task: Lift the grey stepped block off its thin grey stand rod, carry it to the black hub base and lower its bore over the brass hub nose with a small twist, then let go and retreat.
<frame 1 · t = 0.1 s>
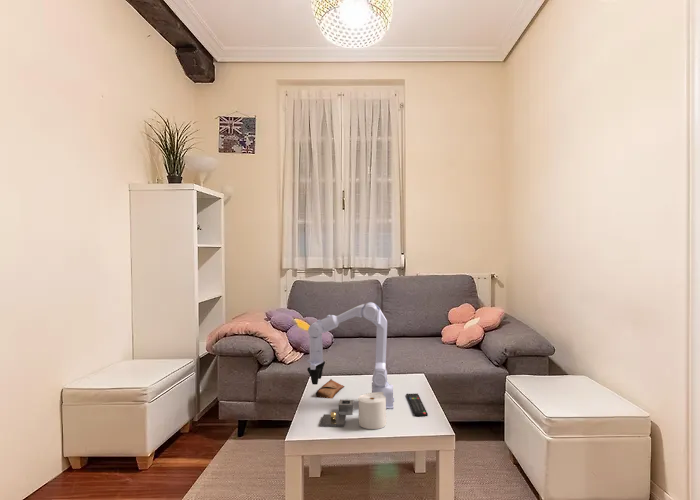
hand: (316, 381, 184), 10 cm above the table, fingers open, 7 cm apart
stand rod: (346, 411, 175), on the table
toilet tissue: (372, 423, 164), on the table
remote control: (416, 407, 181), on the table
grey stepped block: (346, 411, 175), on the table
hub: (333, 421, 166), on the table
sunglasses case: (330, 393, 200), on the table
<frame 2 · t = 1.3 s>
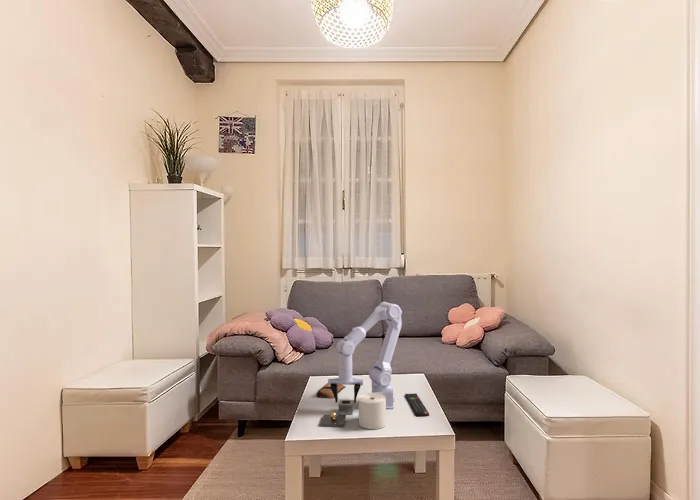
hand: (345, 401, 175), 4 cm above the table, fingers open, 7 cm apart
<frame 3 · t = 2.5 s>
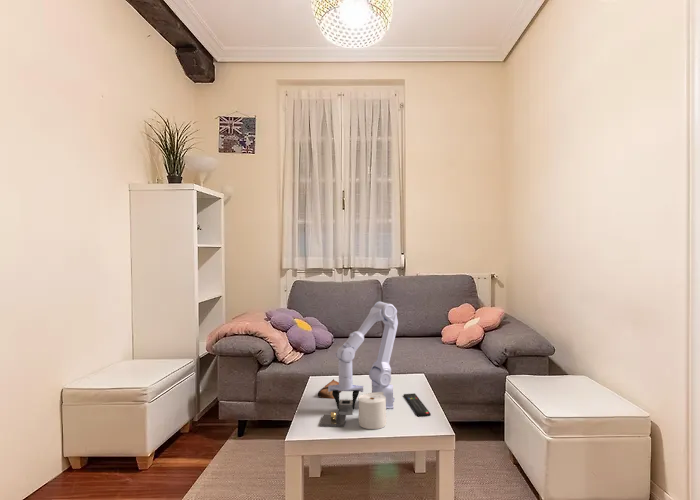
hand: (346, 408, 175), 1 cm above the table, fingers closed on grey stepped block, 6 cm apart
grey stepped block: (346, 411, 175), on the table, touching gripper
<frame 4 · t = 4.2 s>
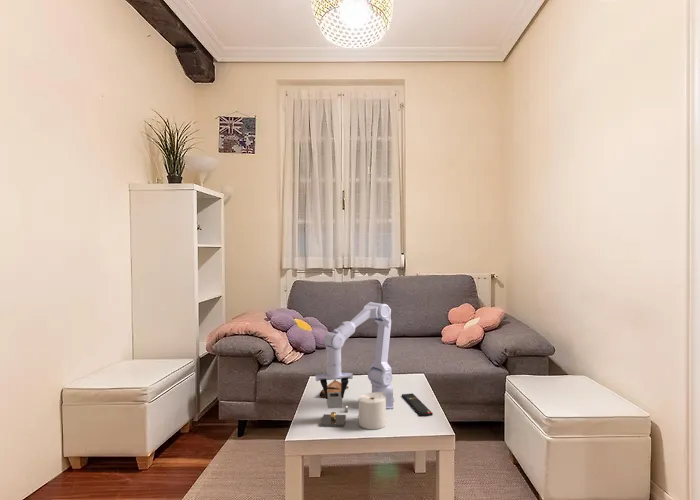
hand: (334, 397, 167), 9 cm above the table, fingers closed on grey stepped block, 6 cm apart
grey stepped block: (334, 405, 167), point 6 cm above the table, touching gripper
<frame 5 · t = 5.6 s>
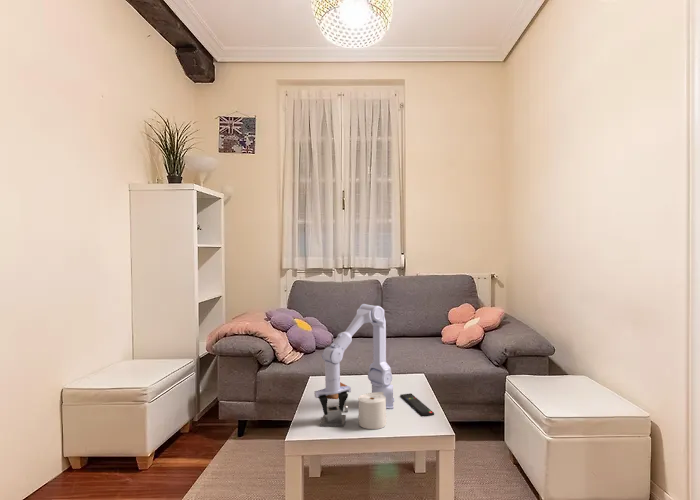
hand: (333, 412, 166), 4 cm above the table, fingers closed on grey stepped block, 6 cm apart
grey stepped block: (333, 418, 166), point 1 cm above the table, touching gripper, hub
when the fingers open (3 cm above the table, at t = 6.3 s): grey stepped block stays where it is, resting on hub.
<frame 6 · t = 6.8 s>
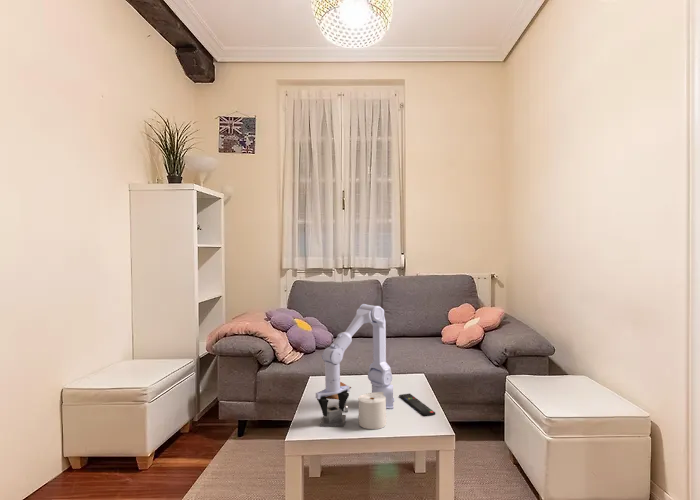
hand: (333, 413, 166), 3 cm above the table, fingers open, 7 cm apart
grey stepped block: (332, 418, 166), point 1 cm above the table, touching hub
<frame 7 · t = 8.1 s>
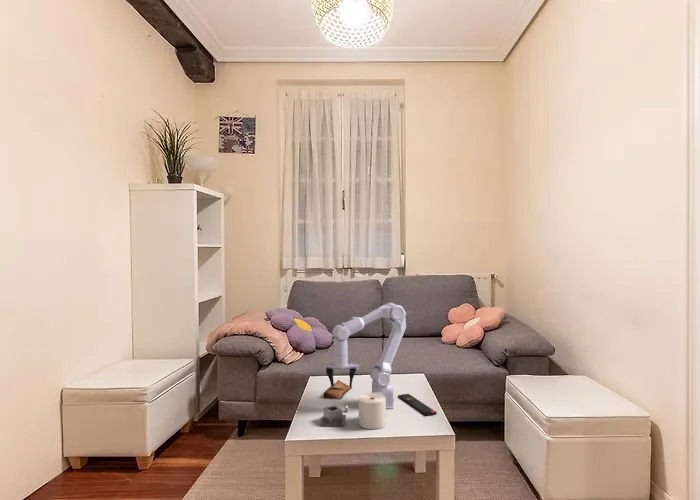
hand: (341, 386, 177), 10 cm above the table, fingers open, 7 cm apart
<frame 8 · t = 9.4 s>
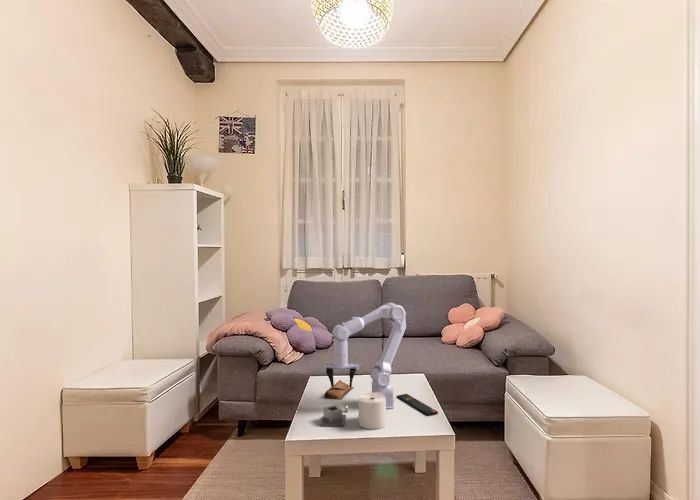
hand: (341, 386, 177), 10 cm above the table, fingers open, 7 cm apart
at the end: grey stepped block 0.5 cm off-centre on the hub, point 1.0 cm above the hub's base; the gripper is holding nothing; grey stepped block tilted 0° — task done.
